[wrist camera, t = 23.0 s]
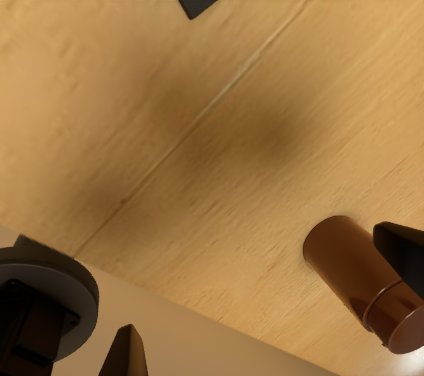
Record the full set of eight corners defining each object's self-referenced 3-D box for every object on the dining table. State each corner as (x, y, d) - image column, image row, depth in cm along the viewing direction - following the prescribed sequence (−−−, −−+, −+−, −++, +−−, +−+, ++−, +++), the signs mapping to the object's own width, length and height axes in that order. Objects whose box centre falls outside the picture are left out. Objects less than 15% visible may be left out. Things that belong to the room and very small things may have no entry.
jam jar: (315, 274, 29) (394, 368, 21) (293, 241, 26) (376, 335, 18) (362, 241, 29) (462, 322, 21) (345, 204, 26) (455, 280, 18)
